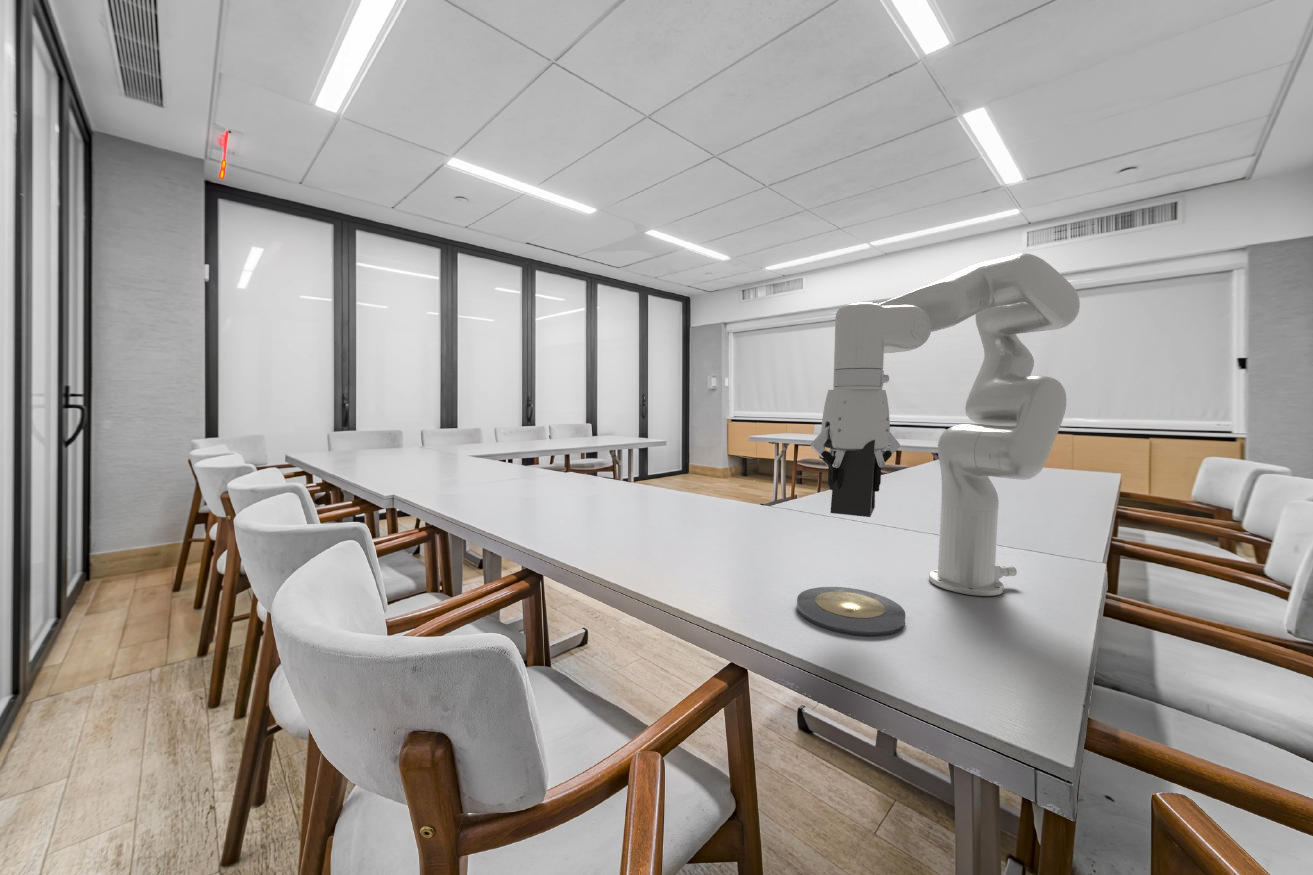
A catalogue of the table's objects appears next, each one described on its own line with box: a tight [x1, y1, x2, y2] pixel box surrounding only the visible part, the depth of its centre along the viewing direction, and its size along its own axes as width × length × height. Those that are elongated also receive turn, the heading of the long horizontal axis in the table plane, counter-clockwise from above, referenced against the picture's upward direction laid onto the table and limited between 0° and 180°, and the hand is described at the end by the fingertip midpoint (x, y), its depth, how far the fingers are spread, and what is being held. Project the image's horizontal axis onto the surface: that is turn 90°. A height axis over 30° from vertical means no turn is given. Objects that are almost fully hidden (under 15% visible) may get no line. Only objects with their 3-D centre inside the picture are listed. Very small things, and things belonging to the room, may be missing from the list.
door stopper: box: [830, 440, 876, 518], centre depth 84 cm, size 9×6×12 cm, turn 152°
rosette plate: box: [796, 586, 906, 637], centre depth 86 cm, size 17×17×2 cm
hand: (854, 489), depth 84 cm, fingers closed on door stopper, 5 cm apart
